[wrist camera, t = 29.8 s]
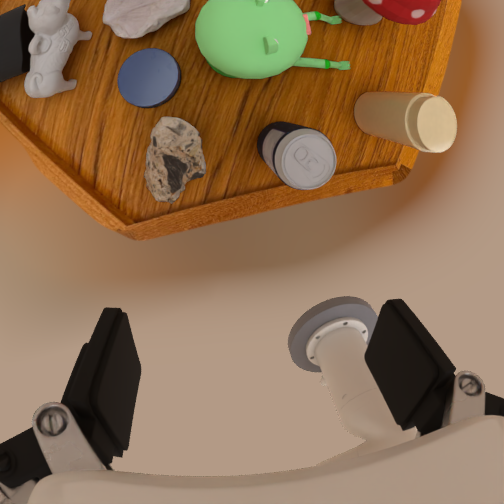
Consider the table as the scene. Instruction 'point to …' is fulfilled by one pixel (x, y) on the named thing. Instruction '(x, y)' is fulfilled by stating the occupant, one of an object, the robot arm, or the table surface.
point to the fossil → (141, 15)
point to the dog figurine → (51, 47)
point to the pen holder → (14, 43)
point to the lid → (148, 77)
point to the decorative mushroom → (386, 10)
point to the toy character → (257, 37)
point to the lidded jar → (407, 119)
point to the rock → (173, 158)
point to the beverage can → (297, 154)
